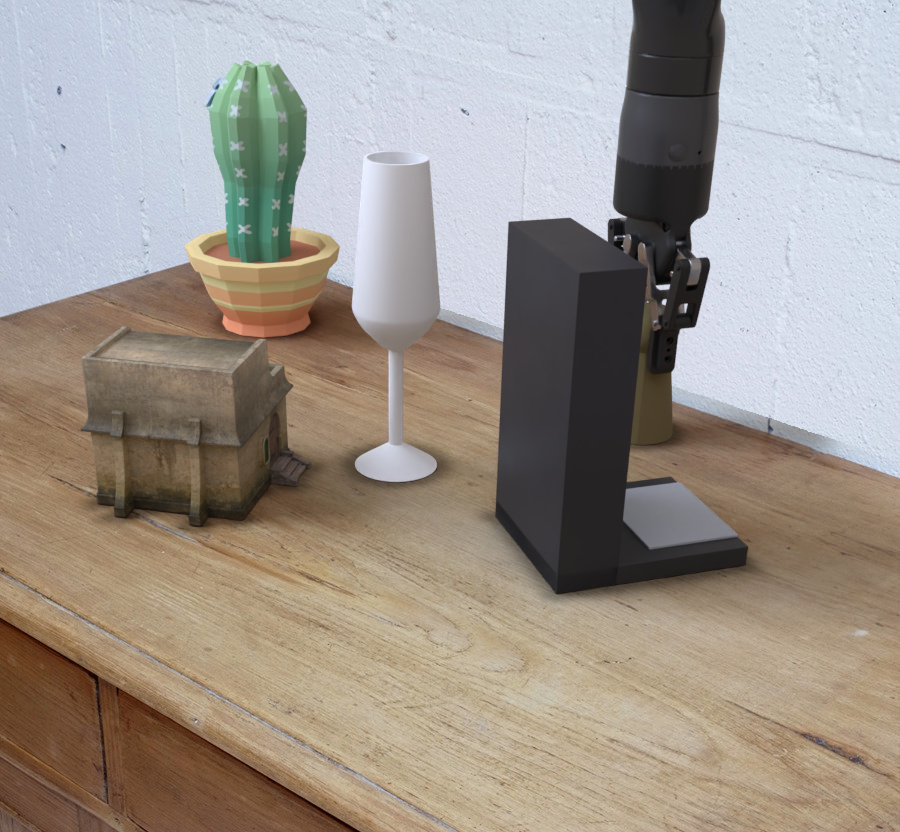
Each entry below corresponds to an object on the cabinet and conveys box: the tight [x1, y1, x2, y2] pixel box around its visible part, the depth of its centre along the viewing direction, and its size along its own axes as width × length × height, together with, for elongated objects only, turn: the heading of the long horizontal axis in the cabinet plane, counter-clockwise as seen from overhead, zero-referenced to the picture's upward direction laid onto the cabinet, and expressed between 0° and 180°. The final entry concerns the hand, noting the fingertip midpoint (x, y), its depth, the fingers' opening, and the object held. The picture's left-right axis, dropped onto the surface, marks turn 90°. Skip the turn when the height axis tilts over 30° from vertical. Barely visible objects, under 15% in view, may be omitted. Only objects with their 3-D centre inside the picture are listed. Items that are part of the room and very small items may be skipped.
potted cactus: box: [184, 60, 341, 338], centre depth 129 cm, size 15×15×25 cm
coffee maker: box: [494, 217, 749, 595], centre depth 90 cm, size 14×12×22 cm
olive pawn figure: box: [631, 301, 681, 446], centre depth 110 cm, size 6×6×11 cm
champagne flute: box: [351, 150, 441, 483], centre depth 100 cm, size 7×7×24 cm
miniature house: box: [80, 325, 312, 527], centre depth 100 cm, size 15×14×11 cm
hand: (644, 359), depth 110 cm, fingers closed on olive pawn figure, 5 cm apart
